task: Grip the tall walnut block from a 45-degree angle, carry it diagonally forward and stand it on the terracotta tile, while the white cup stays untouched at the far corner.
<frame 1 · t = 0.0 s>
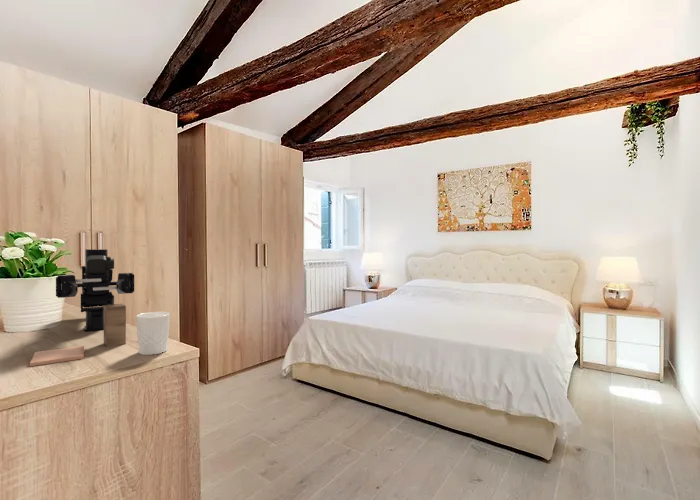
hand: (97, 287, 97), 17 cm above the table, tool horizontal, fingers open, 9 cm apart
white cup: (153, 352, 95), on the table
walnut block: (114, 343, 101), on the table
terracotta tile: (59, 356, 89), on the table
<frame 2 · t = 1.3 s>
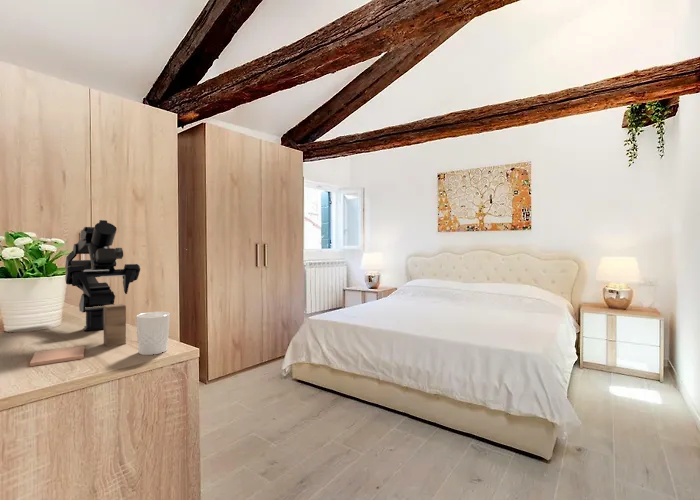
hand: (108, 294, 106), 13 cm above the table, tool tilted 45°, fingers open, 9 cm apart
nothing on the table moved.
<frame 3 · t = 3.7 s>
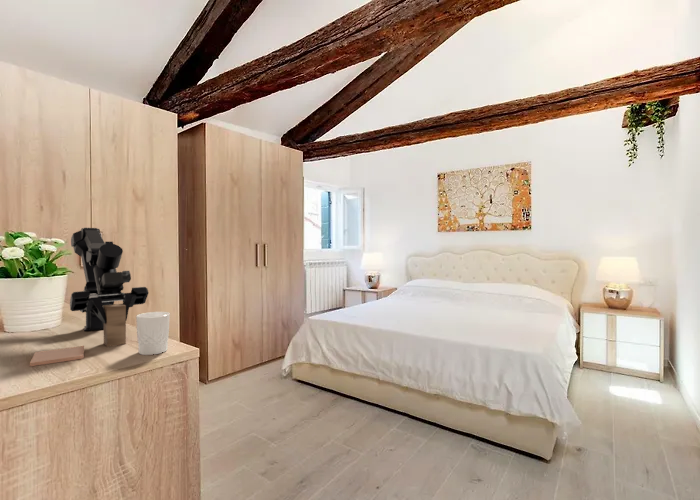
hand: (115, 321, 100), 7 cm above the table, tool tilted 45°, fingers closed on walnut block, 4 cm apart
walnut block: (114, 343, 101), on the table, touching gripper
everything else where it was.
when the fingers open (8 cm above the table, at t = 6.9 s): walnut block stays where it is, resting on terracotta tile.
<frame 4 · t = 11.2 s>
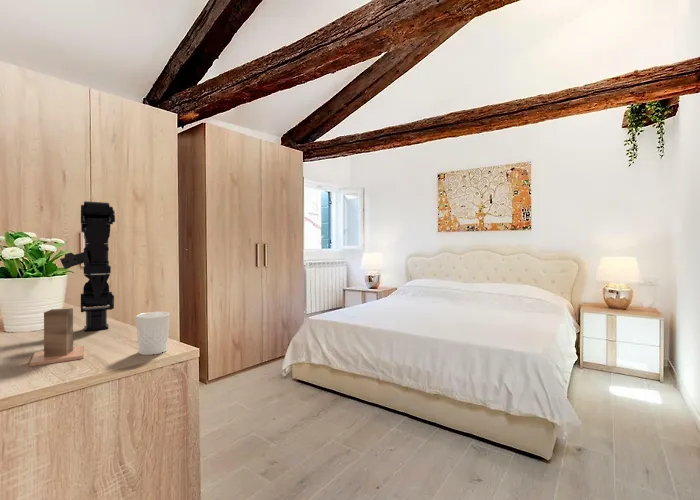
hand: (96, 295, 106), 13 cm above the table, tool pointing down, fingers open, 9 cm apart
walnut block: (59, 353, 89), point 1 cm above the table, touching terracotta tile
everything else where it was.
at the end: walnut block inside the target area on the terracotta tile (0.0 cm from its centre), point 0.8 cm above the terracotta tile's base; walnut block tilted 0°; the gripper is holding nothing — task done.
